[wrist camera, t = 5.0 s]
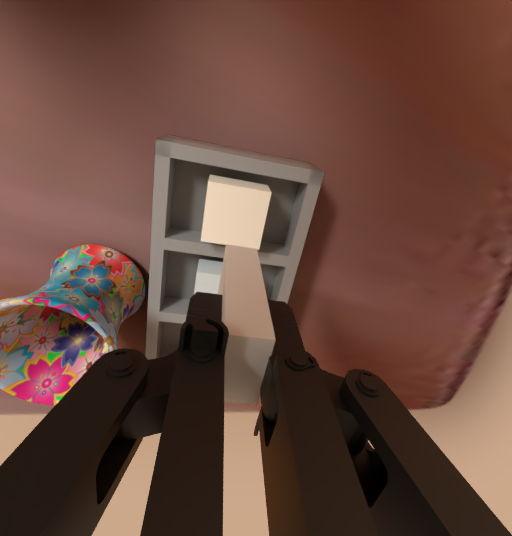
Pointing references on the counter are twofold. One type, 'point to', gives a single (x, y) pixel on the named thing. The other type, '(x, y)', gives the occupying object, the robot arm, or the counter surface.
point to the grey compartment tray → (191, 221)
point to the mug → (66, 322)
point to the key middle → (208, 276)
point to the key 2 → (235, 212)
